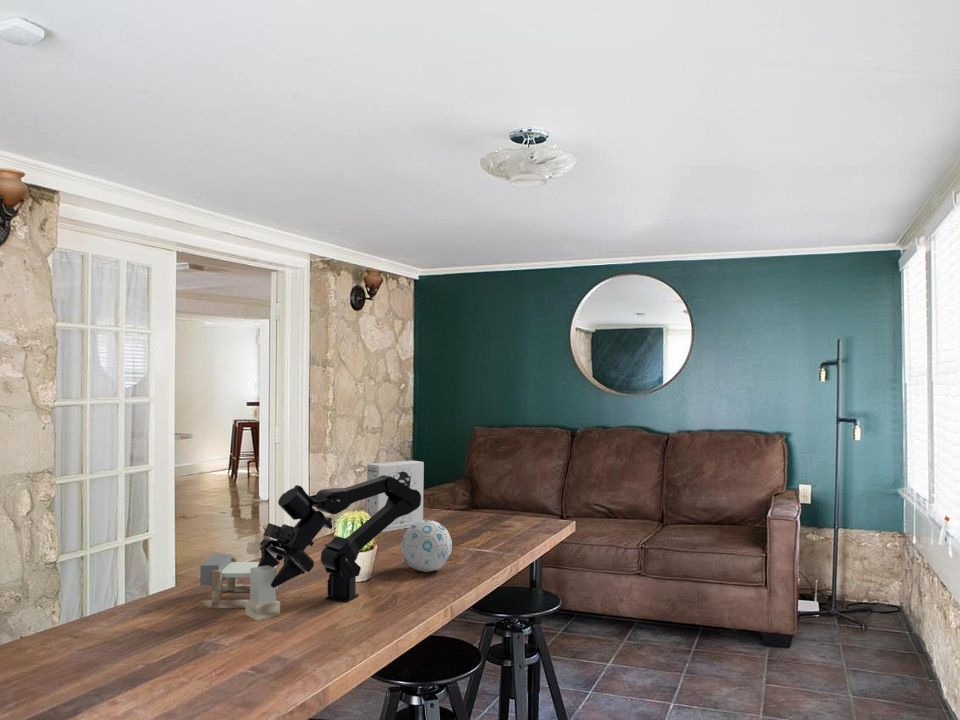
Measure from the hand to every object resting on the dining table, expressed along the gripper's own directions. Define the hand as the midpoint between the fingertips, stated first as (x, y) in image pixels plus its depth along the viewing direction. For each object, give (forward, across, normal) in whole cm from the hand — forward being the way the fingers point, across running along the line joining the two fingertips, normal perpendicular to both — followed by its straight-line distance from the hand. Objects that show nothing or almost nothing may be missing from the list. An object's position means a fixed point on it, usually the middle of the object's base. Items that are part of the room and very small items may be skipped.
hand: (263, 582), depth 186 cm
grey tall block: (+3, 0, +3) cm, 5 cm away
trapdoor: (+1, -17, +3) cm, 17 cm away
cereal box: (-57, -68, +68) cm, 111 cm away
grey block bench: (+4, -16, +7) cm, 18 cm away
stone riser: (+5, 0, +6) cm, 8 cm away
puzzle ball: (-35, -9, +46) cm, 58 cm away
